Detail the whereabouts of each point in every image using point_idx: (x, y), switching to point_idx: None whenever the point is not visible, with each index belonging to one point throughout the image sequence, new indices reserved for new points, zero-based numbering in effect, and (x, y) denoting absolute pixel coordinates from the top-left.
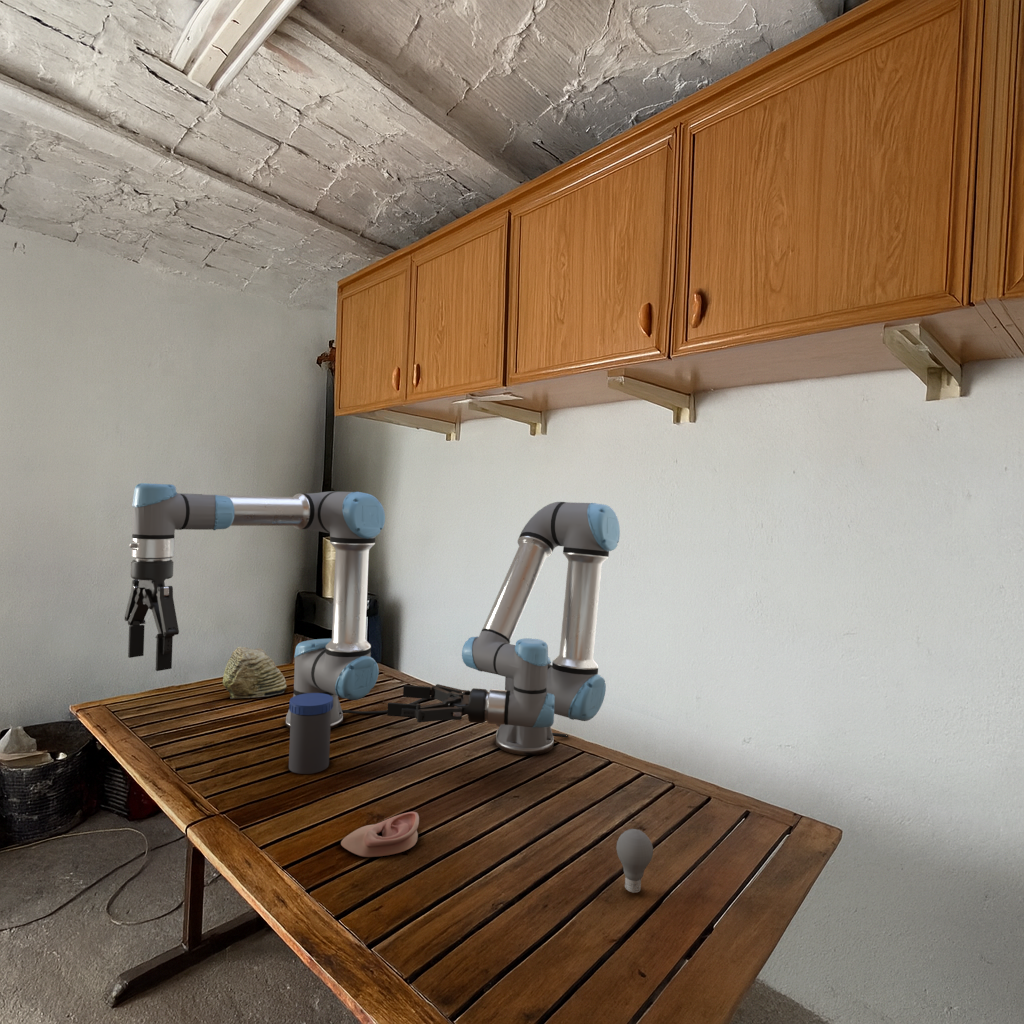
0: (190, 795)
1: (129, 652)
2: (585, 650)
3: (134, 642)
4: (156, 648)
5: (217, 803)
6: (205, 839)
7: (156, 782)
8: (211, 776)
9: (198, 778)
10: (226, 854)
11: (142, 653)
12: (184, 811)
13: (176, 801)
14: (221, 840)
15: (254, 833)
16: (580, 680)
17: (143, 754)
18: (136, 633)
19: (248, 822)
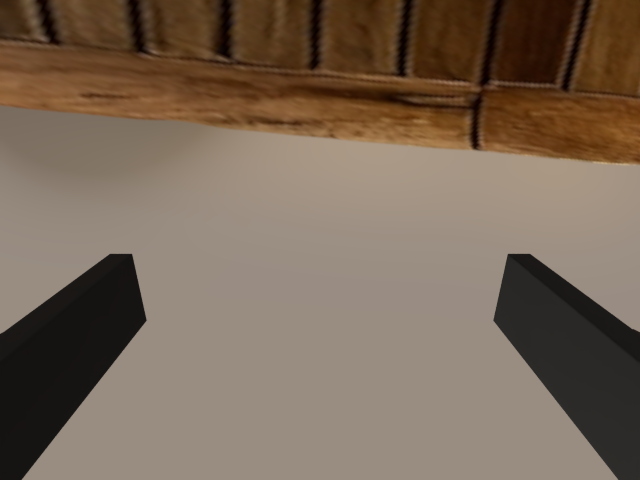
0: (369, 92)
1: (129, 340)
2: None
3: (90, 359)
4: (573, 418)
5: (442, 69)
6: (539, 149)
7: (264, 116)
8: (314, 11)
9: (304, 40)
10: (608, 147)
11: (126, 266)
12: (422, 131)
13: (373, 124)
14: (565, 132)
15: (599, 78)
16: None
17: (90, 75)
18: (37, 404)
19: (557, 64)
